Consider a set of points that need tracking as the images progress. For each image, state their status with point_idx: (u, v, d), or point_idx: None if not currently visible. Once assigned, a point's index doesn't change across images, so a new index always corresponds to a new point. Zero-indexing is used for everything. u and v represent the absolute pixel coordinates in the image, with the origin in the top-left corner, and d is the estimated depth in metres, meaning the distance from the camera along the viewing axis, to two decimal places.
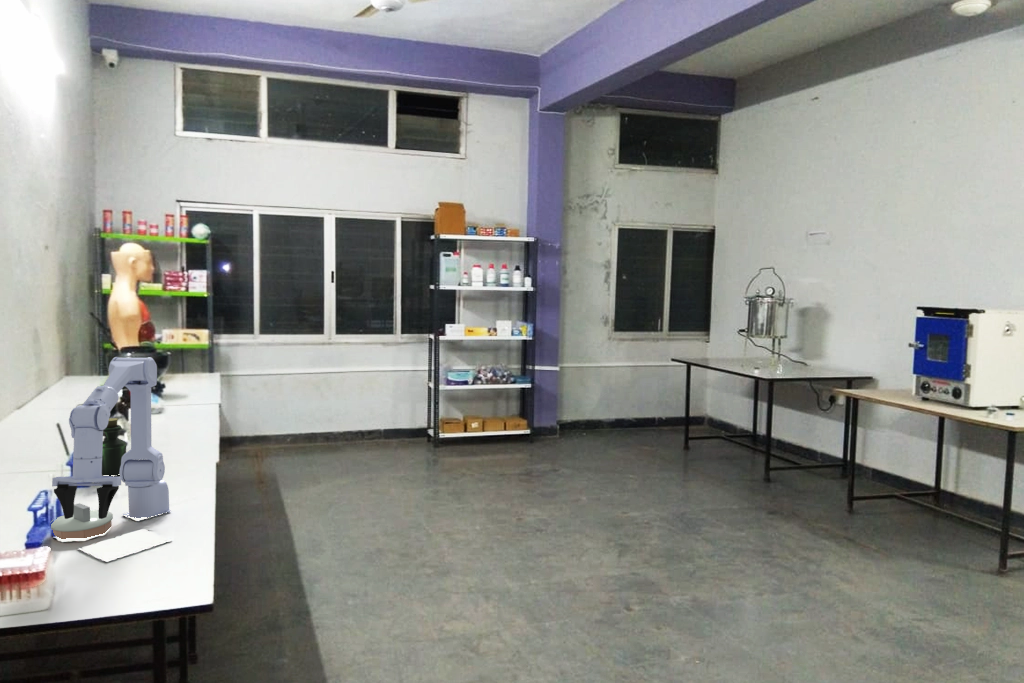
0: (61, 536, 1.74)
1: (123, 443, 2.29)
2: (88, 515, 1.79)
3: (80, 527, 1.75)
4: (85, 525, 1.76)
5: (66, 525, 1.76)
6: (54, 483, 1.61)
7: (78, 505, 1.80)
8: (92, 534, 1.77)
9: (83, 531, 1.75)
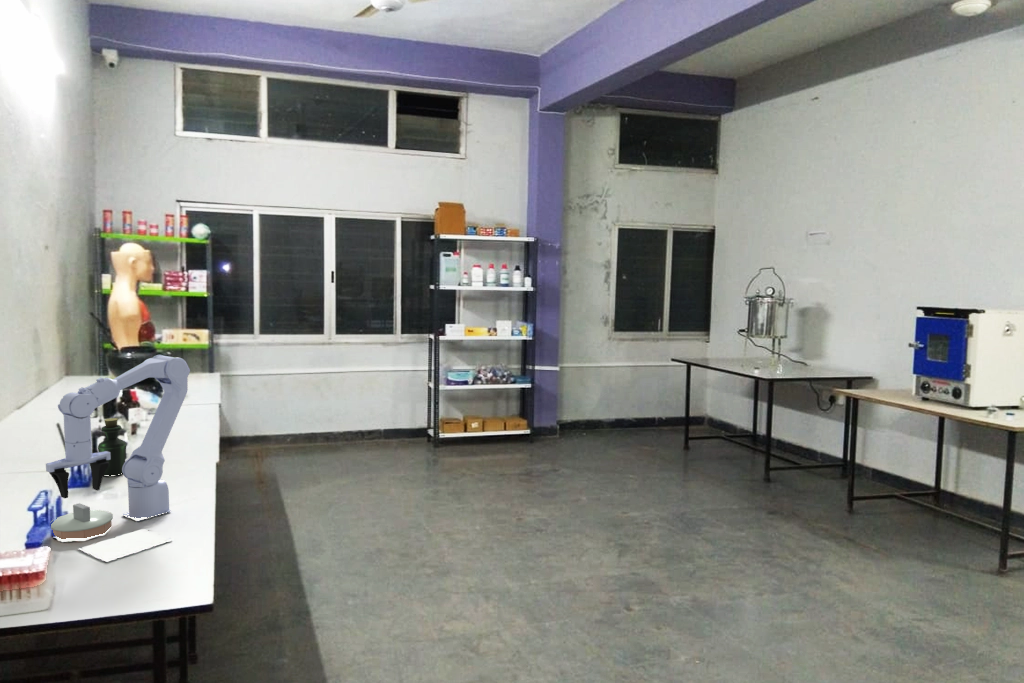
0: (61, 536, 1.74)
1: (123, 443, 2.29)
2: (88, 515, 1.79)
3: (80, 527, 1.75)
4: (85, 525, 1.76)
5: (66, 525, 1.76)
6: None
7: (78, 505, 1.80)
8: (92, 534, 1.77)
9: (83, 531, 1.75)
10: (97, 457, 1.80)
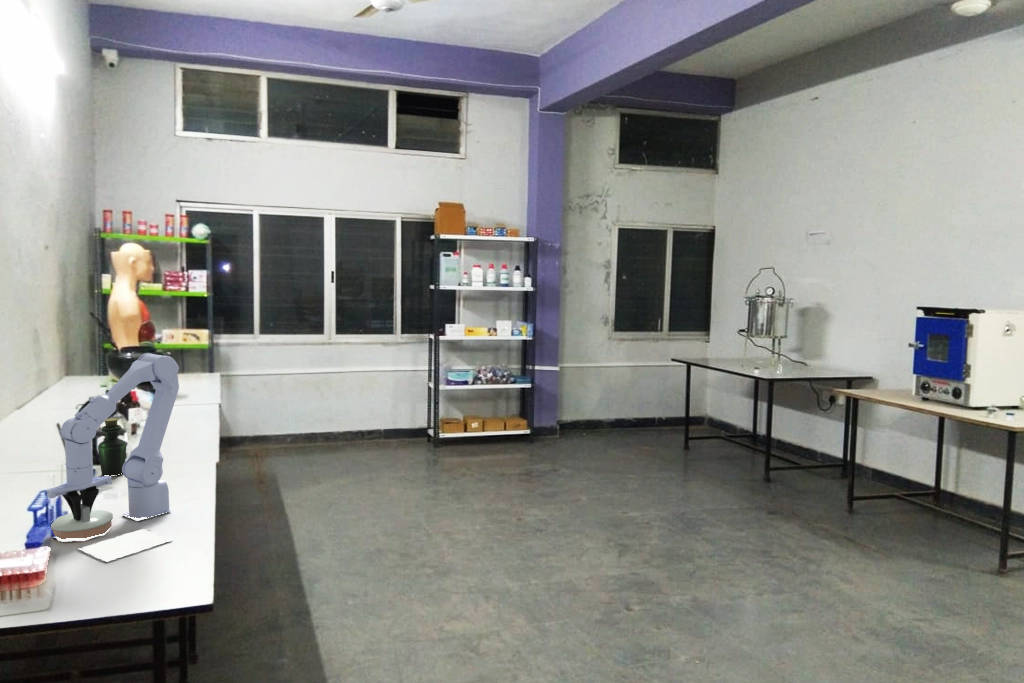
0: (61, 536, 1.74)
1: (123, 443, 2.29)
2: (88, 515, 1.79)
3: (80, 527, 1.75)
4: (85, 525, 1.76)
5: (66, 525, 1.76)
6: None
7: None
8: (92, 534, 1.77)
9: (83, 531, 1.75)
10: (98, 482, 1.81)
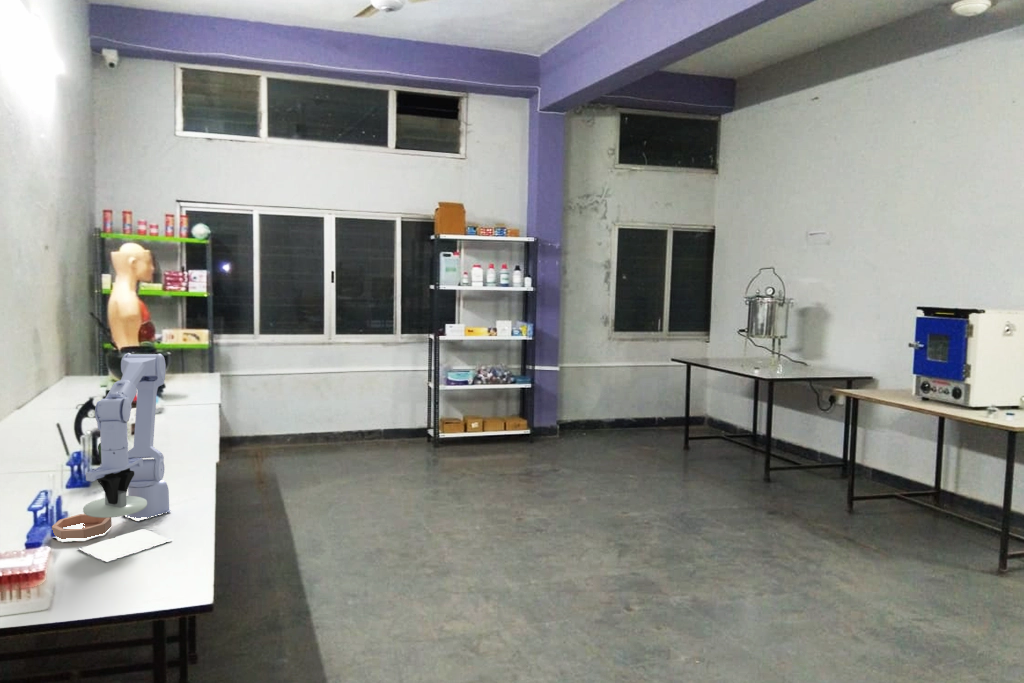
0: (61, 536, 1.74)
1: None
2: (124, 500, 1.73)
3: (122, 512, 1.69)
4: (126, 510, 1.70)
5: (104, 511, 1.69)
6: None
7: None
8: (92, 534, 1.77)
9: (83, 531, 1.75)
10: (133, 464, 1.75)
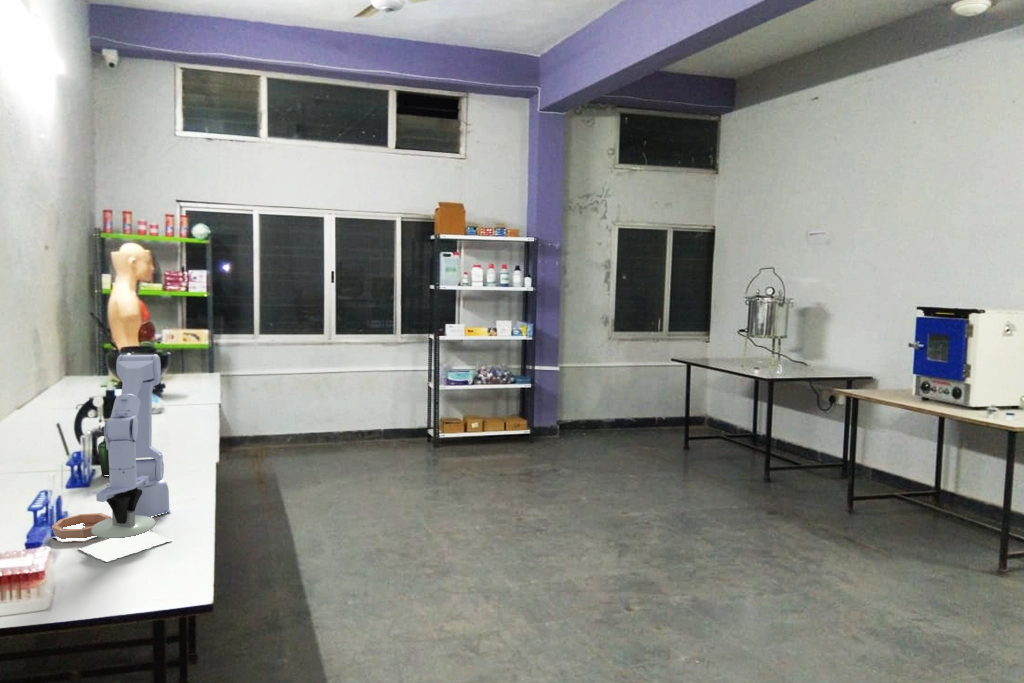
0: (61, 536, 1.74)
1: None
2: (133, 519, 1.72)
3: (133, 532, 1.69)
4: (136, 530, 1.70)
5: (114, 531, 1.68)
6: None
7: None
8: (92, 534, 1.77)
9: (83, 531, 1.75)
10: (141, 482, 1.75)
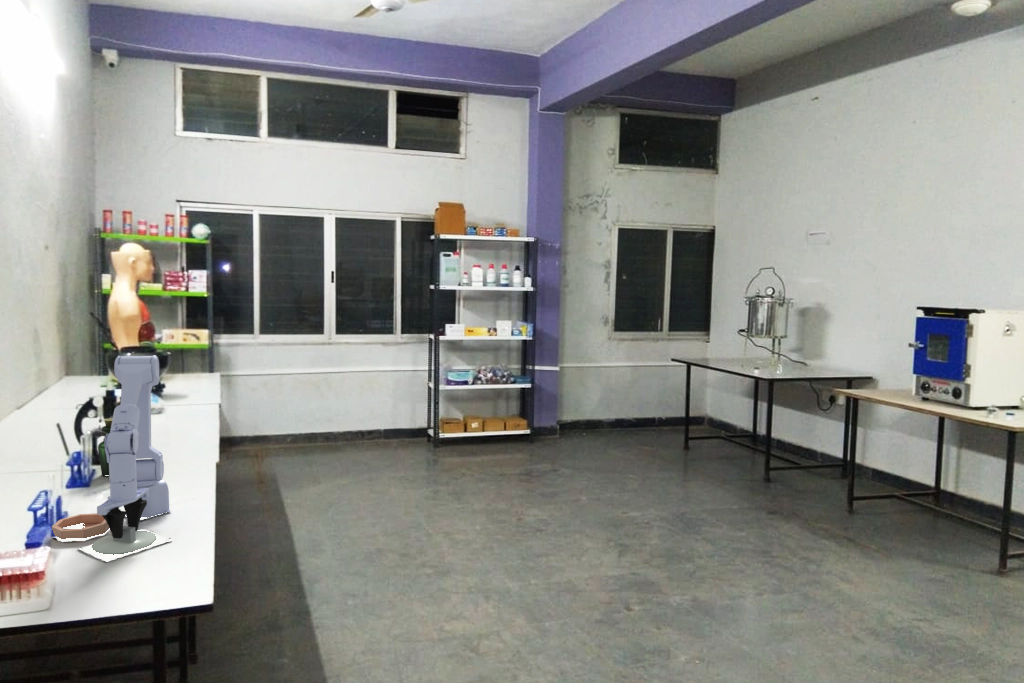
0: (61, 536, 1.74)
1: None
2: (134, 535, 1.73)
3: (134, 548, 1.69)
4: (137, 545, 1.71)
5: (115, 548, 1.69)
6: None
7: None
8: (92, 534, 1.77)
9: (83, 531, 1.75)
10: (141, 495, 1.75)
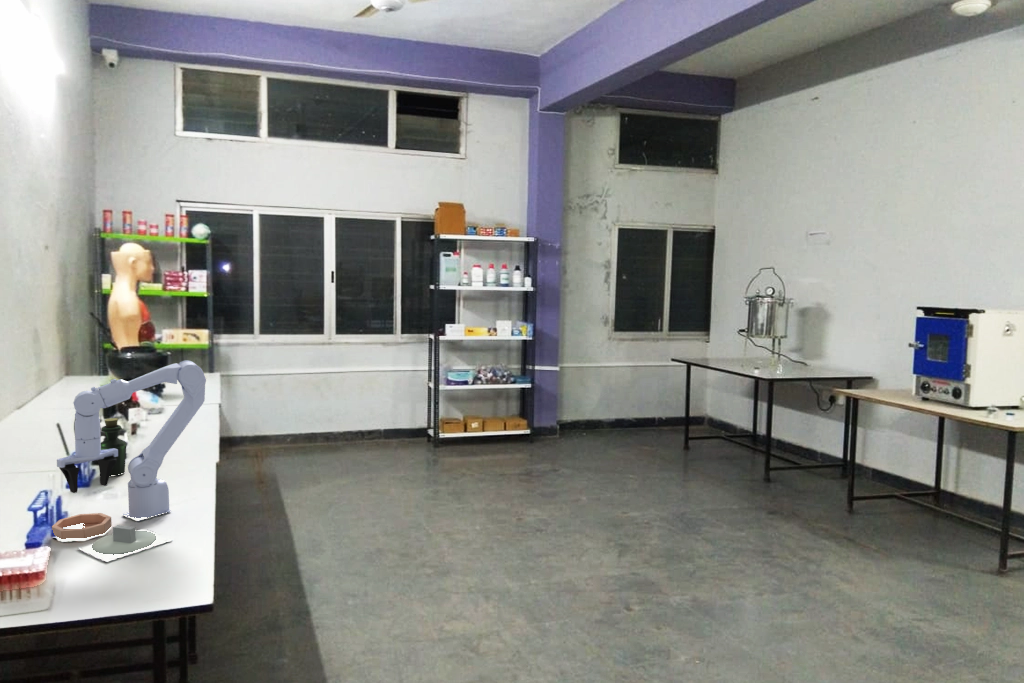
0: (61, 536, 1.74)
1: (123, 443, 2.29)
2: (134, 535, 1.73)
3: (134, 548, 1.69)
4: (137, 545, 1.71)
5: (115, 548, 1.69)
6: None
7: (119, 527, 1.73)
8: (92, 534, 1.77)
9: (83, 531, 1.75)
10: (105, 454, 1.87)
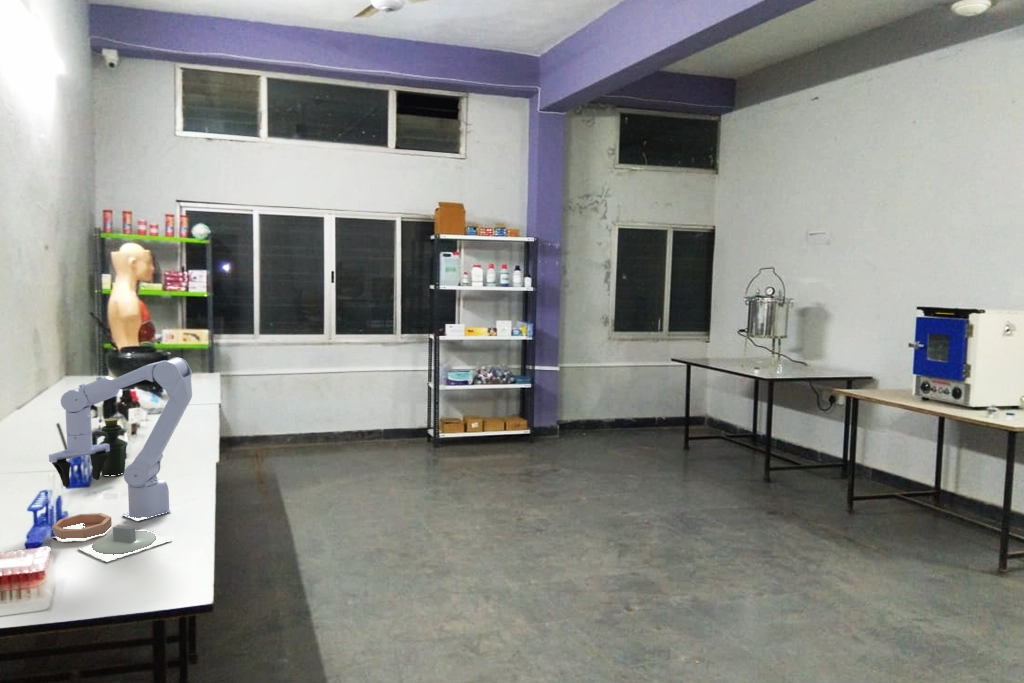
0: (61, 536, 1.74)
1: (123, 443, 2.29)
2: (134, 535, 1.73)
3: (134, 548, 1.69)
4: (137, 545, 1.71)
5: (115, 548, 1.69)
6: None
7: (119, 527, 1.73)
8: (92, 534, 1.77)
9: (83, 531, 1.75)
10: (97, 449, 1.92)
